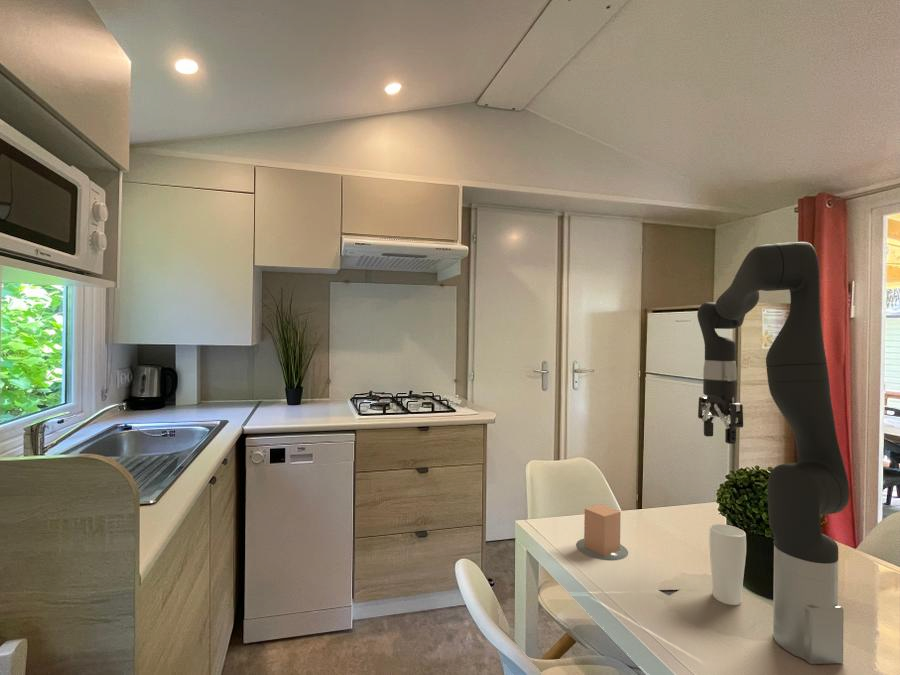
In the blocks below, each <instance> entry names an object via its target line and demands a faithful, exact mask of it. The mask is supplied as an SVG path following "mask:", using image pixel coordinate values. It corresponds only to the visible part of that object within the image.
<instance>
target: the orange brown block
mask: <svg viewBox="0 0 900 675" xmlns="http://www.w3.org/2000/svg"><path fill="white" fill-rule="evenodd" d="M621 515H622V514H621V511H620V510H617V509H614V508H612V507H609V506H606V505H604V504H601V503H599V504H596V505H592V506H590V507H585V508H584V527H583V528H584V529H583V531H584V532H583V533H584V534H583V535H584V536H583V539H584V547H587V548H589V549H591V550H593V551H595V552H597V553H599V554H601V555H603V556H606V555H609V554H611V553H614V552H616V551H619V550H620V544H621Z"/></svg>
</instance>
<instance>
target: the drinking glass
mask: <svg viewBox="0 0 900 675" xmlns="http://www.w3.org/2000/svg"><path fill="white" fill-rule="evenodd" d="M708 534H709V536H708V537H709V538H708V539H709V541H708V544H709V547H708V548H709V557H710V571H711V584H712V588H711V589H712V592H711V593H712V596H713V598H714V599H715V600H716V601H718V602H721V603H722V604H725V605H729V606H739V605H741V604H742V603H743V602H742V600H743V599H742V598H743V596H742V595H743V584H744V575H745V567H746V557H747V534H746V532H745V531H744V530H743V529H740V528H739V527H736V526H733V525H729V524H726V523H725V524H723V523H714V524H711V525H710V526H709V533H708Z"/></svg>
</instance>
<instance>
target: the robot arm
mask: <svg viewBox="0 0 900 675" xmlns="http://www.w3.org/2000/svg"><path fill="white" fill-rule="evenodd" d="M738 268H739V269H738V270H737V272H736V274H735V276H734V278H733V280H732V281H731V284H730V286H729V287H728V288H727V289H726V290H725V291H724V292H723V293H722V294H721V295H720V296H719V297H718V298H717V300H716V301H714V302H713V301H707V302H704V303H702V304H701V305H700V306H699V307H698V310H697V321H698V325H699V327H700V330H701V334H702V338H703V343H704V364H703V372H702V373H703V375H702V376H703V383H702V384H703V386H702V393H703V395H704V396H699V397H698V405H697V406H698V407H697V408H698V410H697V411H698V413H697V418H698V419H701V421H702V423H703V435H704V437H713V436H714V421H715V419H716V417H717V418H720V421H722V422H723V423H724V426H725V436H724V437H725V439H724V440H725V443H726V444H728V445H729V444H730V445H732V444H733V445H734V444H736V441H737V429H741V428H743V427H744V407H743V406H744V405H743V403H739V402H736V403H735V402H734V401H733V398H736V397H737V391H738V389H737V387H738V386H737V385H738V381H737V380H738V378H737V377H738V376H737V373H738V372H737V371H738V370H737V369H738V368H737V362H736V356H737V354H736V352H737V343H736V341H735V340H734V339H732V338H728V337H723V336H720V335H719V334H718V333H717V331H716V330H717V329H718V330H719V329H720V330H732V329H733V330H734V329H738V328H739V327H741V326H742V325H743V323H744V320H745V316H746V314H748V313H749V312H751V311H752V310H753V309H755V308H756V306H757V304H758V302H759V299H760V292H759V291H766V292H771V291H772V292H773V291H789V293H790V295H789V296H790V304H789V305H790V306H789V312H788V316H787V318H786V320H785V323H784V324H783V326H782V328H781V329H780V330H779V332H778V334H777V336H775V338H774V340H773V342H772V343H771V345H770V347H769V349H768V351H767V354H766V357H765V367H766V378H767V383H768V388H769V392H770V393H769V394H770V395H771V397H772V400H773V401H774V404H775V405H776V406H777V408H778V410H779V411H780V413H781V414H782V415H783V417H784V419H785V420H786V421H787V423H788V424H789V427H790V429H791V431H792V433H793V436H794V440H795V441H794V442H795V447H796V455H797V462H790V463H789V462H788V463H781V464H778V465H776V466H775V467H774V468H773V469H772V470H771V471H770V474H769V476H768V480H767V488H766V490H767V491H766V492H767V493H766V494H767V508H768V509H767V512H768V524H769V528H770V531H771V533H772V536H773V604H772V605H773V607H772V608H773V611H772V613H773V614H772V616H773V618H772V619H773V622H772V623H773V626H772V628H773V629H772V632H773V633H772V635H773V639H774V641H775V642H776V643H777V645H779V646H780V647H781V648H782V649H783V650H785V651H786V652H788V653H790V654H792V655H793V656H796V657H798V658H800V659H802V660H804V661H806V662H807V663H808V664H810V665H820V664H821V665H823V664H824V665H828V664H830V665H831V664H844V621H845V620H844V618H845V617H844V608H843V606H841V605H839V554H840V553H839V546H838V543H837V542H836V541H835V540H834V539H833V538H831V537H830V536H828V535H826V534H824V533H822V526H821V525H822V524H821V516H825V515H827V516H828V515H832V514H837V513H840V512H842V511H843V510H845V508H846V507H847V506H848V504H849V501H850V495H851V494H850V492H851V491H850V484H849V480H848V475H847V471H846V468H845V463H844V461H843V457H842V452H841V449H840V445H839V440H838V436H837V435H838V434H837V431H836V429H837V428H836V422H835V415H834V410H833V404H832V398H831V397H832V396H831V386H830V375H829V369H828V368H829V367H828V362H827V356H826V351H825V350H826V349H825V343H824V336H823V328H822V315H821V288H820V287H821V285H820V284H821V283H820V263H819V257H818V254H817V251H816V249H815V247H814V245H812V244H811V243H810V242H807V241H791V242H777V243H765V244H761V245H757V246H755V247H753V248H752V249H751V250H750V251H749V252H748V253H747V255H746V256H745V258H744V260H743V261H742V262H741V264H740V266H739V267H738Z"/></svg>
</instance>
